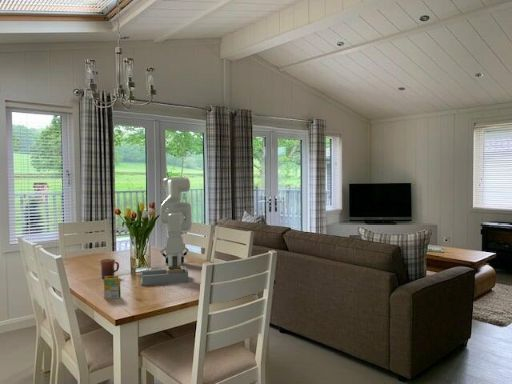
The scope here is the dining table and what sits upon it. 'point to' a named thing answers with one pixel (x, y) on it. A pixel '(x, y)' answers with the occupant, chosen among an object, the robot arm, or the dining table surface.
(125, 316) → the dining table surface
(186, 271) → the bay
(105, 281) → the crayon box
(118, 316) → the dining table surface
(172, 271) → the crate
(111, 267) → the mug
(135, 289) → the dining table surface
